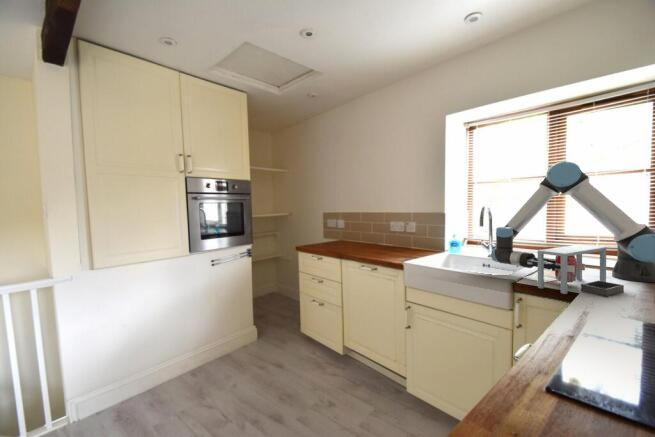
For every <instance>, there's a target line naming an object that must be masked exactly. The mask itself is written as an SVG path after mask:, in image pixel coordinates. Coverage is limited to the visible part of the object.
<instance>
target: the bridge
mask: <svg viewBox="0 0 655 437" xmlns="http://www.w3.org/2000/svg"><path fill="white" fill-rule="evenodd" d="M598 252H599V281H604V282H607V246H596V245H586V244H575V245H568V246H567V245H565V246H560V247H553V248H545V249H538V250H537V257H538V267H537V275H538V281H537V289H545V283H544V277H545V275H544V274H545V271H544V270H545V269H544V258H545V255H550V256H555V257H556V256H561V281H560V294H564V295H567V294H568V282H567V256H572V255H574V256H575V258H576V263H581V264H583V255H585V254H590V253H591V254H592V253H598ZM576 280H578V281H581V280H583V270H578V269H576Z"/></svg>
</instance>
